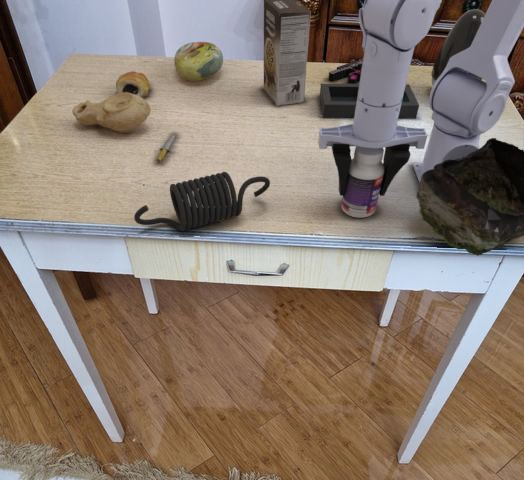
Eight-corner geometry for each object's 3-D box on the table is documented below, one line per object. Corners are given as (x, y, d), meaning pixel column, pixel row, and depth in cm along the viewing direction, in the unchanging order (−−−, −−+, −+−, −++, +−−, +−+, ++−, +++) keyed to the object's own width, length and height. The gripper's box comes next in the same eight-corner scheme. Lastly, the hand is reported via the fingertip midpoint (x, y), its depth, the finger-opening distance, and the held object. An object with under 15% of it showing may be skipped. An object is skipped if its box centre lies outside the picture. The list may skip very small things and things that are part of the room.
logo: (366, 56, 108) (400, 69, 103) (365, 64, 109) (398, 77, 104) (325, 70, 102) (358, 85, 97) (324, 78, 103) (357, 93, 99)
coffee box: (262, 88, 100) (262, -2, 87) (290, 85, 101) (294, -5, 89) (275, 106, 94) (278, 12, 82) (305, 102, 96) (312, 9, 83)
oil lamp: (80, 123, 91) (67, 99, 87) (149, 101, 91) (139, 75, 87) (85, 154, 85) (71, 129, 81) (158, 130, 86) (148, 104, 82)
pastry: (122, 82, 102) (118, 63, 99) (153, 82, 102) (150, 63, 99) (116, 100, 96) (111, 80, 93) (149, 100, 96) (145, 80, 93)
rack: (415, 118, 91) (419, 105, 90) (323, 117, 92) (324, 104, 90) (406, 96, 98) (409, 84, 96) (319, 96, 98) (320, 83, 96)
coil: (264, 204, 75) (272, 241, 70) (137, 201, 71) (135, 239, 66) (270, 164, 69) (279, 201, 64) (132, 158, 65) (130, 197, 60)
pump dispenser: (479, 107, 95) (510, 20, 83) (427, 103, 96) (451, 16, 84) (473, 87, 101) (501, 3, 89) (425, 83, 102) (446, 0, 90)
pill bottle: (374, 221, 70) (388, 160, 62) (339, 216, 71) (348, 156, 63) (376, 201, 73) (389, 141, 66) (342, 197, 74) (351, 137, 66)
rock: (431, 210, 56) (397, 256, 65) (584, 250, 57) (530, 290, 66) (437, 110, 63) (406, 164, 73) (572, 147, 64) (525, 196, 74)
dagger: (169, 130, 86) (179, 133, 86) (169, 135, 87) (179, 138, 87) (152, 156, 79) (164, 159, 79) (152, 161, 80) (164, 164, 80)
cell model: (172, 79, 98) (165, 26, 102) (186, 106, 105) (179, 56, 110) (219, 61, 96) (210, 9, 100) (231, 90, 103) (222, 40, 108)
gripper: (428, 84, 62) (403, 177, 72) (320, 84, 62) (311, 177, 72) (441, 108, 57) (413, 203, 68) (325, 108, 57) (315, 203, 68)
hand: (361, 192), depth 70 cm, fingers closed on pill bottle, 5 cm apart
